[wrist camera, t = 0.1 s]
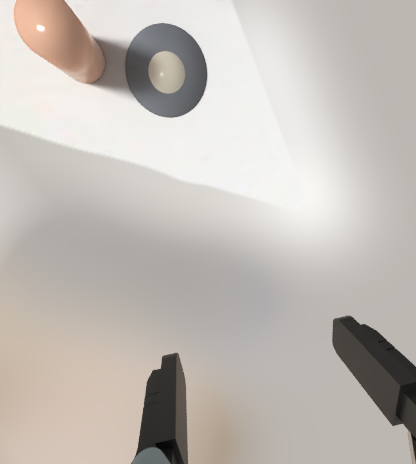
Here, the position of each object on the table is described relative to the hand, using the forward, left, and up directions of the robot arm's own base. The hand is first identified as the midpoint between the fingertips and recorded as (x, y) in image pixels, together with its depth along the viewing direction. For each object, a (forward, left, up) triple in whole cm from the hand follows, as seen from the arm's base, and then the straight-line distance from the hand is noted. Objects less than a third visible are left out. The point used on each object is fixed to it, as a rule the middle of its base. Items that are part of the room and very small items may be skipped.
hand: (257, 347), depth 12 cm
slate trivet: (-20, -2, -29) cm, 35 cm away
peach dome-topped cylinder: (-23, -12, -29) cm, 39 cm away
